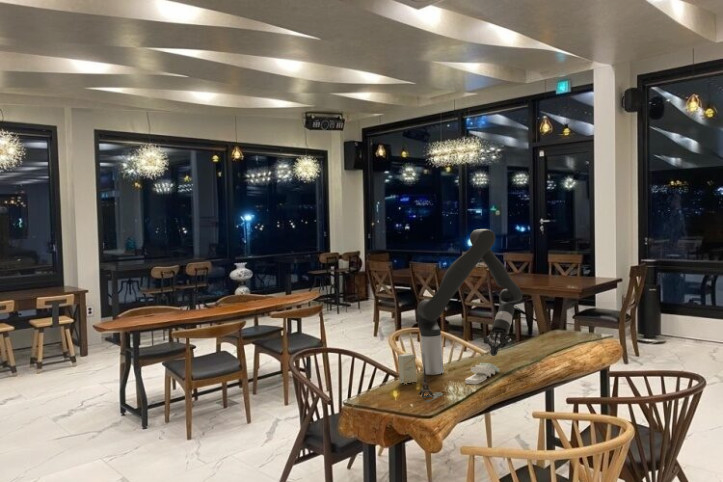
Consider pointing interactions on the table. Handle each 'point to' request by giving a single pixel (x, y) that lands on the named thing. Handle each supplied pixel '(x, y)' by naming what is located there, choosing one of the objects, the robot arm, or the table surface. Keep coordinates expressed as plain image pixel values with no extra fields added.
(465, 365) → the table surface
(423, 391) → the eiffel tower figurine
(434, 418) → the table surface
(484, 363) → the sage domino
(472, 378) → the ivory domino
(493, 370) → the ivory domino
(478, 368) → the ivory domino
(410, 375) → the skincare box
